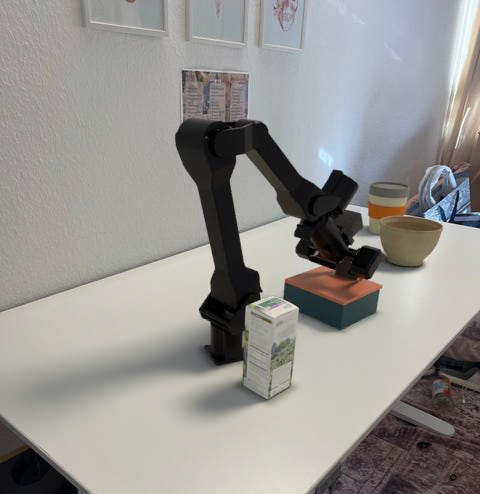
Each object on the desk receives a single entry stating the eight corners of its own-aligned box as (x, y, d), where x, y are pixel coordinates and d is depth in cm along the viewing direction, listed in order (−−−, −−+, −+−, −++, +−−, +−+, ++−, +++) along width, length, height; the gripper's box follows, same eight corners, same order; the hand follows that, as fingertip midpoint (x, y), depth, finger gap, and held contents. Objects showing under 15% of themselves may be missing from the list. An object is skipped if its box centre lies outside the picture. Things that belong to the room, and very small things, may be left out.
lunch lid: (323, 268, 111) (325, 246, 108) (382, 288, 101) (386, 265, 98) (284, 282, 103) (285, 259, 100) (343, 305, 92) (347, 280, 90)
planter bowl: (448, 267, 128) (457, 228, 123) (399, 274, 123) (406, 233, 118) (408, 249, 142) (415, 213, 137) (362, 255, 136) (368, 217, 131)
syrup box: (265, 372, 80) (270, 293, 74) (292, 387, 77) (299, 305, 70) (241, 385, 77) (243, 303, 70) (268, 401, 73) (273, 316, 67)
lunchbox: (319, 290, 113) (321, 269, 110) (376, 312, 102) (380, 289, 100) (282, 304, 105) (284, 282, 103) (340, 330, 95) (343, 306, 92)
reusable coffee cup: (407, 230, 160) (415, 184, 154) (396, 239, 151) (404, 191, 144) (370, 224, 166) (376, 180, 160) (358, 232, 157) (364, 185, 150)
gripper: (386, 208, 88) (407, 253, 100) (308, 191, 100) (334, 233, 112) (355, 258, 87) (380, 298, 98) (280, 235, 99) (310, 273, 110)
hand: (350, 273), depth 105 cm, fingers open, 6 cm apart
